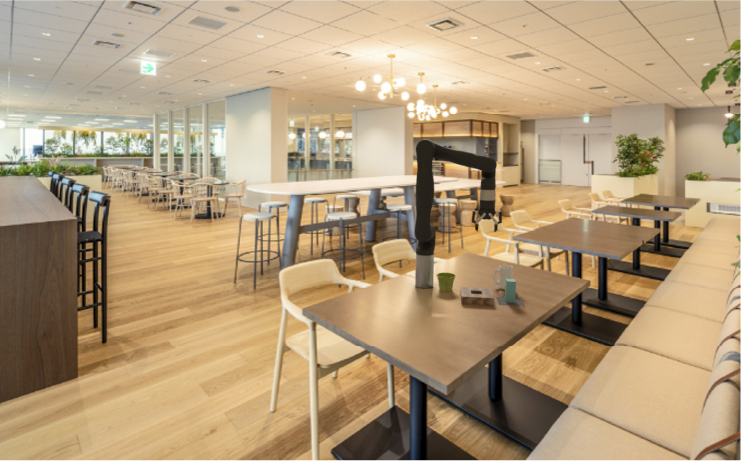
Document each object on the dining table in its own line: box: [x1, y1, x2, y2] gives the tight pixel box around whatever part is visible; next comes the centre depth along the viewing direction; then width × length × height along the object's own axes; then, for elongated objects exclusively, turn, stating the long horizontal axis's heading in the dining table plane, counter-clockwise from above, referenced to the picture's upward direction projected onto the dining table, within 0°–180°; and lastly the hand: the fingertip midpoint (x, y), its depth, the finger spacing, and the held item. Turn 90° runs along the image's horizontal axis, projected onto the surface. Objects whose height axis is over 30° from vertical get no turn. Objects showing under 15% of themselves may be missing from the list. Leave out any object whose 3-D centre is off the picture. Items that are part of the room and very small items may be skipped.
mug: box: [492, 264, 514, 290], centre depth 202 cm, size 10×7×12 cm, turn 96°
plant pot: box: [436, 272, 456, 293], centre depth 200 cm, size 9×9×9 cm
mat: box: [495, 296, 525, 309], centre depth 184 cm, size 11×11×1 cm
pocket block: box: [459, 286, 495, 307], centre depth 186 cm, size 14×14×4 cm
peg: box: [504, 278, 517, 303], centre depth 183 cm, size 4×4×10 cm
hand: (486, 231), depth 198 cm, fingers open, 8 cm apart
